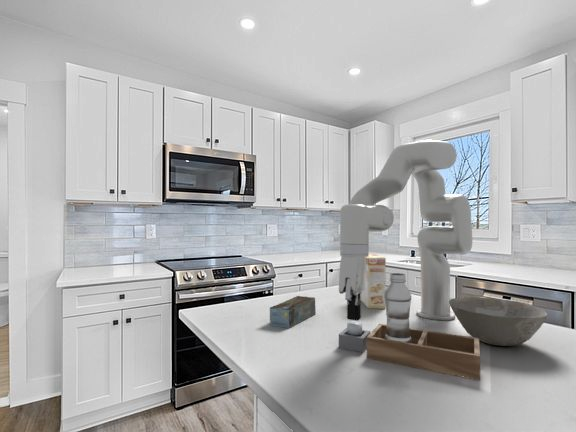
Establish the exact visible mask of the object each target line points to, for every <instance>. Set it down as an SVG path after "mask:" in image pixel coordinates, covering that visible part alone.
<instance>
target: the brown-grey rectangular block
mask: <svg viewBox="0 0 576 432" xmlns="http://www.w3.org/2000/svg"><path fill="white" fill-rule="evenodd" d="M314 315H316V298H315V297H313V296H301V295H296V296H294V297H291V298H289V299H288V300H285V301H282V302H280V303H278V304H275V305H273V306H270V307H269V324H270V326H273V325H274V327H280V328H284V329H291V328H292V327H294V326H297V325H298V324H300V323H302V322H303V321H305V320H307V319H308V318H310V317H313V316H314Z"/></svg>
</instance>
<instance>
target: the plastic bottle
mask: <svg viewBox="0 0 576 432" xmlns="http://www.w3.org/2000/svg"><path fill="white" fill-rule="evenodd" d="M389 282H390V284H389V285H388V286H387V287H386V290H385V293H384V298H385V305H386V309H385V310H386V311H385V312H386V313H385V315H386V325H387V326H386V335H385V339H389V340H395V341H401V342H407V343H412V339H411V336H410V328H411V325H410V314H411V313H410V312H411V311H410V310H411V303H412V293H411V291H410V289H409V288H408V287H407V285H406V282H407V279H406V274H405V273H402V272H400V273H399V272H391V273H390V274H389Z"/></svg>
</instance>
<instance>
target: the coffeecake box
mask: <svg viewBox="0 0 576 432" xmlns="http://www.w3.org/2000/svg"><path fill="white" fill-rule="evenodd" d="M386 260H387V258H386V257H385V256H381V255H378V254H375V253H374V254H373V253H369V256H368V257H366V289H365V290H364V291H362V294H361V303H363V304H364V305H365V307H366V308H367V309H379V310H380V309H381V310H382V309H385V310H386V305H385V298H384V293H385V290H386V289H387V287H386V282H387V280H386V279H387V277H386Z"/></svg>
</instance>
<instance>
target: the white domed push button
mask: <svg viewBox="0 0 576 432" xmlns="http://www.w3.org/2000/svg"><path fill="white" fill-rule="evenodd" d="M346 328H347V333H348V334H350V335H361V334H362V330H363V322H361V321H356V320H351V321H350V320H349V321H347V322H346Z"/></svg>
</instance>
